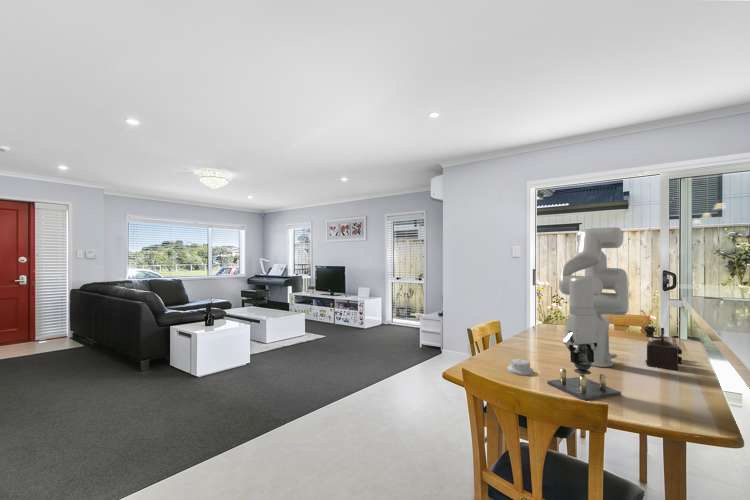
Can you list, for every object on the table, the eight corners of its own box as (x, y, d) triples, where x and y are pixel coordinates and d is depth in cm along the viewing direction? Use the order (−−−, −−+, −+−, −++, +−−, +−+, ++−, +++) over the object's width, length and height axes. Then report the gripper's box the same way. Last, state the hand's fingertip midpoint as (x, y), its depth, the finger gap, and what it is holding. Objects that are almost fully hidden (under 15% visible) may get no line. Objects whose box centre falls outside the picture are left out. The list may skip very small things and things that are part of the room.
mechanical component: (509, 375, 142) (536, 376, 140) (509, 364, 143) (535, 365, 140) (505, 367, 152) (530, 369, 150) (505, 357, 152) (530, 358, 150)
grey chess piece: (589, 370, 128) (589, 337, 128) (594, 375, 122) (593, 340, 123) (571, 368, 130) (571, 335, 130) (574, 373, 124) (574, 339, 125)
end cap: (658, 356, 167) (658, 342, 168) (678, 359, 164) (677, 344, 164) (661, 362, 159) (661, 347, 159) (682, 364, 155) (681, 349, 155)
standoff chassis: (581, 379, 136) (581, 363, 136) (620, 395, 121) (620, 377, 121) (547, 384, 132) (547, 367, 132) (583, 400, 116) (583, 381, 116)
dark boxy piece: (646, 360, 161) (646, 321, 161) (678, 365, 154) (677, 324, 154) (643, 368, 150) (642, 326, 150) (677, 374, 142) (676, 329, 142)
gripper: (591, 309, 133) (592, 357, 132) (553, 311, 128) (554, 361, 128) (609, 312, 126) (610, 363, 125) (570, 314, 121) (571, 367, 120)
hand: (582, 361), depth 126 cm, fingers closed on grey chess piece, 5 cm apart
